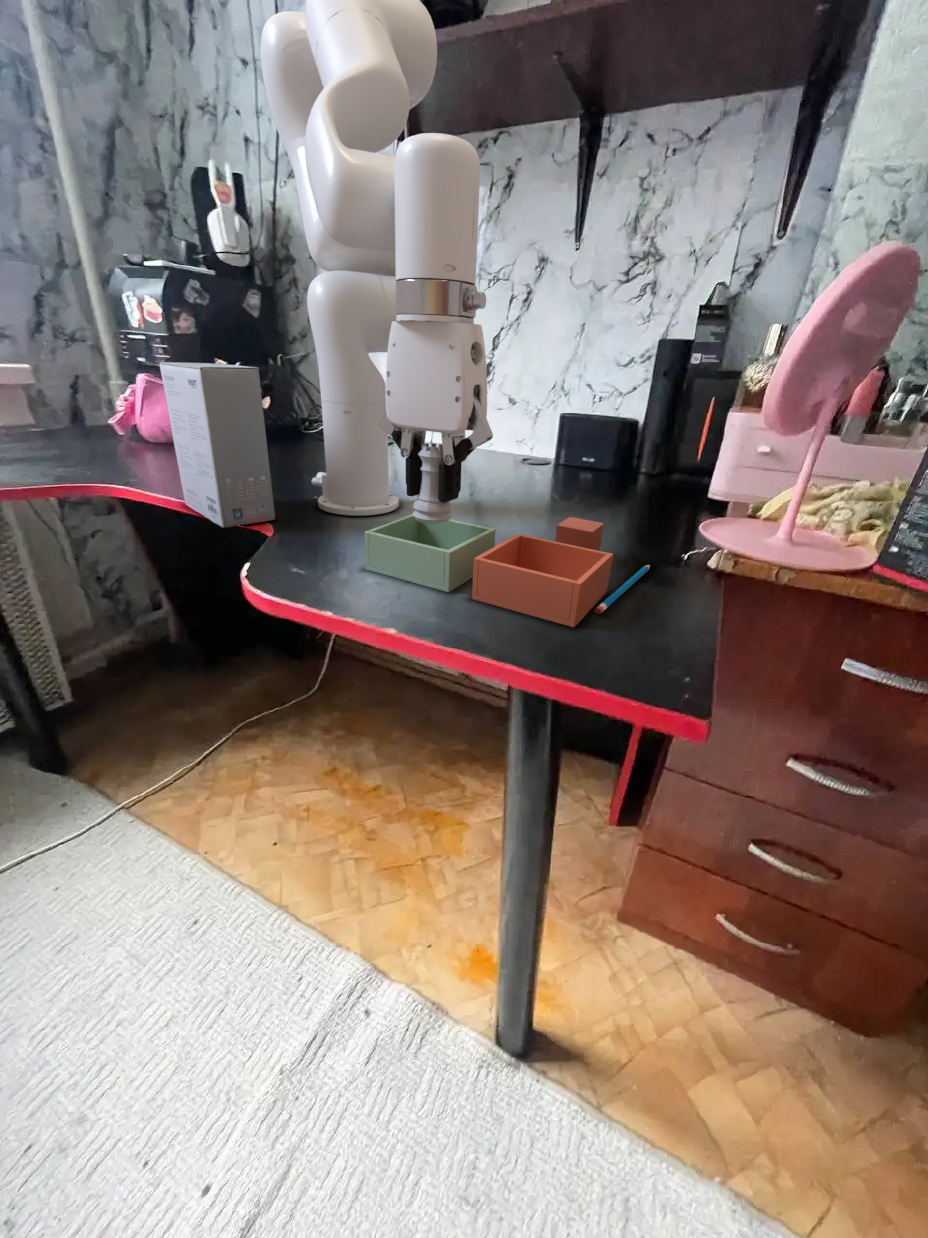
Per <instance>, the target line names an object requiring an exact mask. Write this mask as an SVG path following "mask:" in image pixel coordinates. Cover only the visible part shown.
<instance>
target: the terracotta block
mask: <svg viewBox="0 0 928 1238" xmlns="http://www.w3.org/2000/svg"><path fill="white" fill-rule="evenodd" d="M604 527H605V524H604V522H599V521H595V520H588V519H583V518H578V517H573V516H569V517H568V518H565V519H564V520H563V521H561V522H560V523H558V524H556V529H555V530H556V531H555V538H554V541H555V542H560V543H564V544H569V545H574V546H579V547H583V548H588V549H593V550H598V551H601V544H602V539H603V533H604Z"/></svg>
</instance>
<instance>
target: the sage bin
mask: <svg viewBox="0 0 928 1238" xmlns="http://www.w3.org/2000/svg"><path fill="white" fill-rule="evenodd" d="M496 532H497V531H496V528H492V527H488V526H483V525H479V524H474V523H469V522H464V521H460V520H454V519H451V518H450V519H449V521H447V522H444V523H437V524H431V523H423V522H419V521H417V520H416V519H415V518H414V516H413V513H412V514H409V515H406V516H404V517H401V518H398V519H396V520H393V521H391V522H388V523H385V524H382V525H379V526H377V527H374V528H371V529H368V530H366V531H364V548H365V549H364V550H365V551H364V552H365V570H366V571H370V572H374V573H378V574H381V575H385V576H388V577H391V578H395V579H399V580H402V581H406V582H409V583H414V584H417V585H421V586H423V587H428V588H432V589H435V590H439V591H442V592H445V593H450V592H453V590H455V589H457V588H458V587H460V586H462V585H463V584H465V583H467V582H468V581H470V580H472V579H473V569H474V558H476V557H477V556H479V555H481V554H483V553H484V552H486V551H488V550H490V549H492V548H493V547H495V546H496Z"/></svg>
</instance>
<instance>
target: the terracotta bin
mask: <svg viewBox="0 0 928 1238" xmlns="http://www.w3.org/2000/svg"><path fill="white" fill-rule="evenodd" d="M613 558H614V553H612V552H607V551H602V550H600V551H598V550H593V549H588V548H583V547H579V546H574V545H569V544H564V543H560V542H555V540H550V539H545V538H541V537H535V536H531V535H526V534H521V533H516V534H514V535H513V536H511V537H509V538H508V539H505V540H503V542H501V543H499V544H497V545H495V546H494V547H493V548H492V549H490V550H488V551H486V552H484V553H483V554H481V555H479V556H477V557H476V558H474V569H473V578H472V589H471V599H472V600H474V601H478V602H482V603H484V604H487V605H491V606H495V607H498V608H502V609H506V610H510V611H513V612H517V613H519V614H524V615H528V616H532V617H535V618H538V619H542V620H545V621H549V622H553V623H556V624H559V625H564V626H567V627H571V628H575V627H576V626H577V625H578V624H579V623H580V622H581V621H582V620H583V619H584V618H585V616H587V614H588V613H589V612H590V611H591V610H593V608H594V607H595V606H596V605H597V604H598V603H599V601H601V599H602V598H603V597H604V596H605V595H606V594H607V593H608V587H609V581H610V575H611V571H612V564H613Z"/></svg>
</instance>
